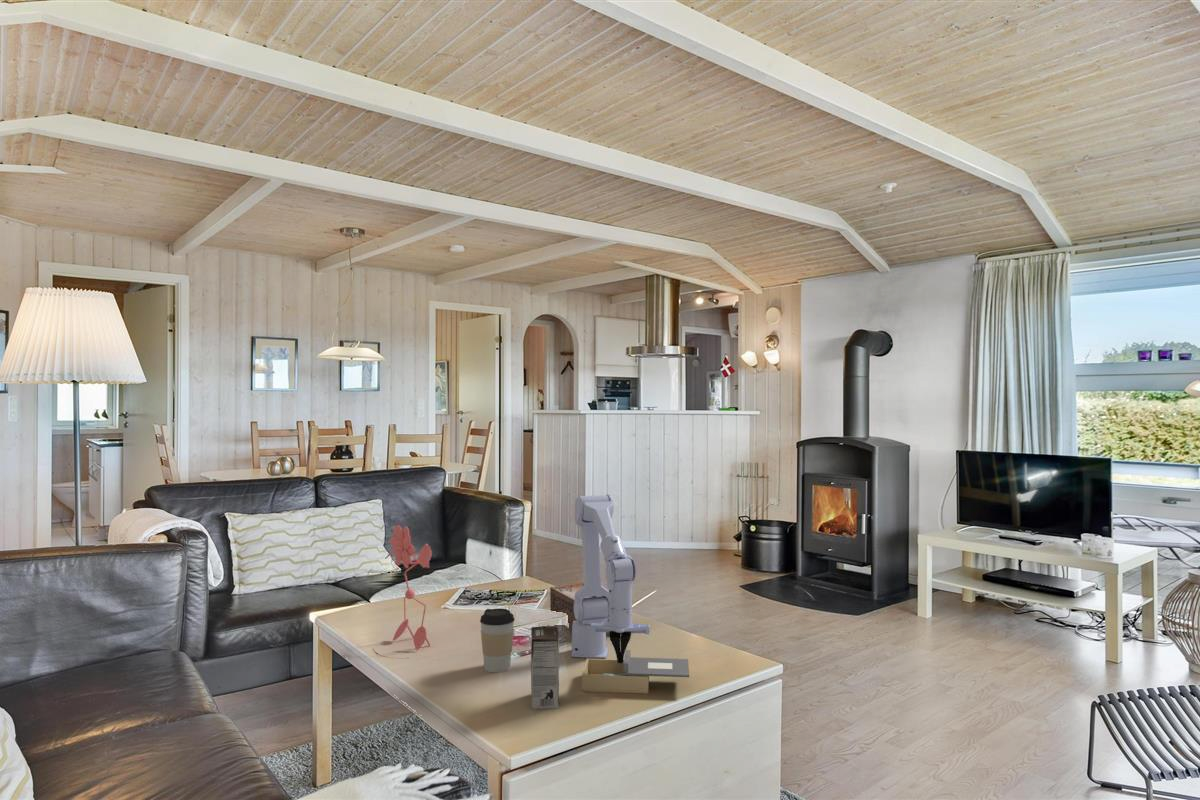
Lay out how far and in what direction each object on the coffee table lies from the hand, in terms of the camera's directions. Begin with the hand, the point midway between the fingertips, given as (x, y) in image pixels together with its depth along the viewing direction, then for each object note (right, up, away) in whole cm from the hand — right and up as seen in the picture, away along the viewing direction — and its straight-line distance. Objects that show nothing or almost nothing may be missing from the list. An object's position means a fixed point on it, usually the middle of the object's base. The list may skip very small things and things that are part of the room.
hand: (620, 661), depth 182 cm
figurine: (-62, -6, +27) cm, 68 cm away
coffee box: (-18, -6, -10) cm, 22 cm away
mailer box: (-1, -5, 0) cm, 5 cm away
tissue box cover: (-9, -6, +48) cm, 49 cm away
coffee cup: (-32, -6, +11) cm, 34 cm away
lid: (+9, -1, -1) cm, 9 cm away
